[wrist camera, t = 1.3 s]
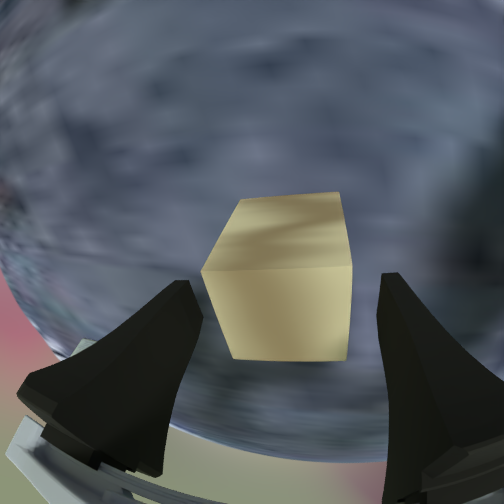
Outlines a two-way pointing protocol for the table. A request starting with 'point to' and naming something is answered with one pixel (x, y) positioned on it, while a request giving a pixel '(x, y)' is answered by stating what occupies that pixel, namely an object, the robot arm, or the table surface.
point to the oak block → (283, 279)
